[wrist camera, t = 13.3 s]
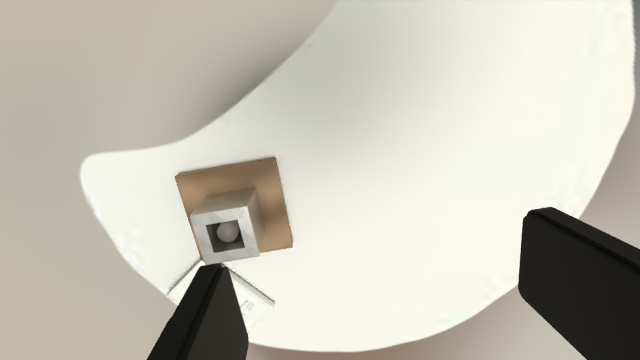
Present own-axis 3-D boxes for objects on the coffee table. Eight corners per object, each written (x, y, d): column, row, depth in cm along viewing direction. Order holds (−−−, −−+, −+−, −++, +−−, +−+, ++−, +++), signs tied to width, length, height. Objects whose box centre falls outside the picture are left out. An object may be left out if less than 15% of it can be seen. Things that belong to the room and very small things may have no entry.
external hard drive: (206, 251, 40) (275, 301, 43) (170, 289, 42) (238, 335, 45) (203, 258, 39) (274, 309, 42) (165, 297, 40) (236, 344, 43)
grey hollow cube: (206, 195, 36) (189, 215, 30) (255, 187, 36) (247, 206, 30) (219, 238, 38) (205, 265, 32) (265, 230, 38) (259, 256, 32)
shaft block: (179, 173, 36) (154, 191, 30) (275, 157, 37) (270, 172, 30) (205, 256, 40) (188, 287, 34) (292, 241, 40) (291, 270, 34)
